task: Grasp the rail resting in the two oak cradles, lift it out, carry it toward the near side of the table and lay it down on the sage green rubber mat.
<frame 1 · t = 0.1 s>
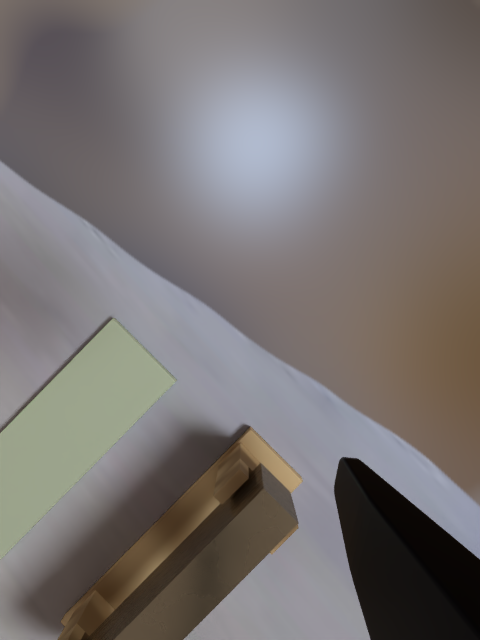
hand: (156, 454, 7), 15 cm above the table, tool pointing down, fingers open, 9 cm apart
rack: (182, 545, 22), on the table
mat: (58, 438, 22), on the table
rail: (172, 580, 19), point 3 cm above the table, touching rack
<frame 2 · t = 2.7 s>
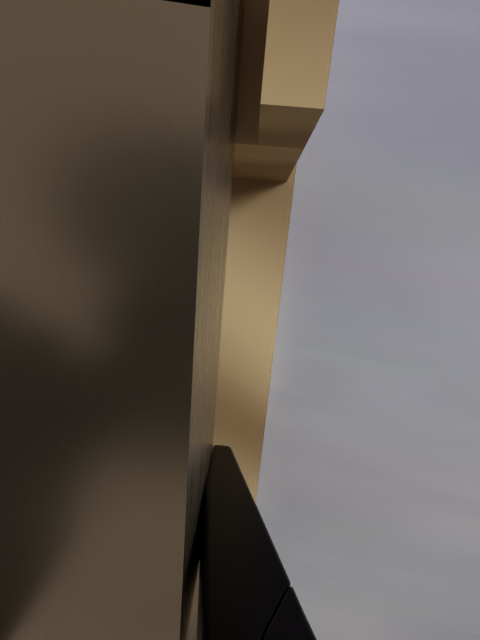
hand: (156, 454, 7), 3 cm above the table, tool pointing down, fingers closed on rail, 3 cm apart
rack: (181, 399, 9), on the table
rail: (151, 465, 7), point 3 cm above the table, touching gripper, rack
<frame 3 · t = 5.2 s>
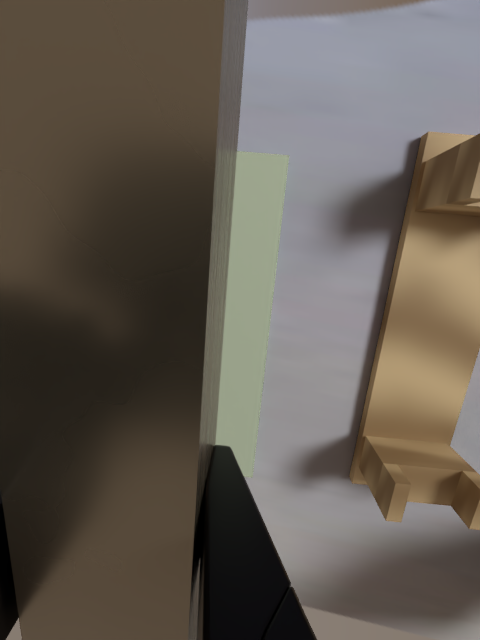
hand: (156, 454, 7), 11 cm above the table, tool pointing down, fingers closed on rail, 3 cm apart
rack: (426, 335, 17), on the table
mat: (211, 332, 17), on the table
rail: (161, 441, 7), point 10 cm above the table, touching gripper
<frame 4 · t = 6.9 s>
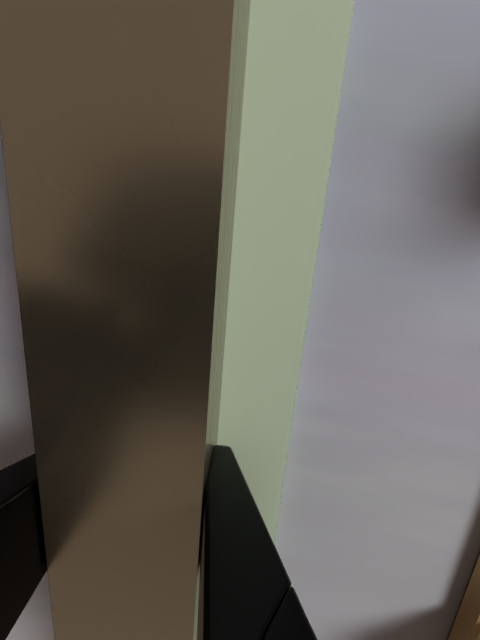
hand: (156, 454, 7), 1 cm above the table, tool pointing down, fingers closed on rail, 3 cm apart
mat: (169, 419, 8), on the table
rail: (168, 425, 8), resting on mat, touching gripper
when the fingers open (1 cm above the table, at t = 7.5 s): rail stays where it is, resting on mat.
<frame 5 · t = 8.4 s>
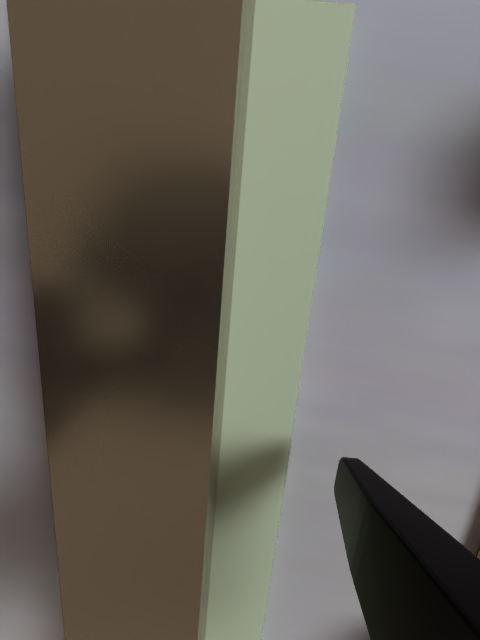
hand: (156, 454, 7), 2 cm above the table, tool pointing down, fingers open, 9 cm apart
mat: (173, 417, 8), on the table
rail: (173, 423, 8), resting on mat
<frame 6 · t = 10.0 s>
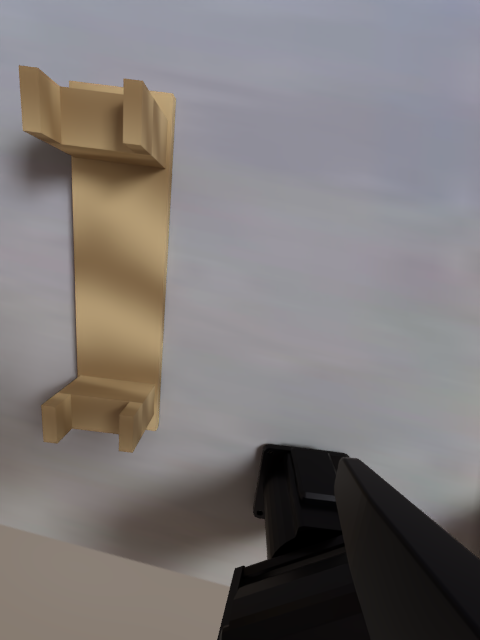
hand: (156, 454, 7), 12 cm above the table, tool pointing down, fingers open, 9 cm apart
rack: (123, 280, 18), on the table
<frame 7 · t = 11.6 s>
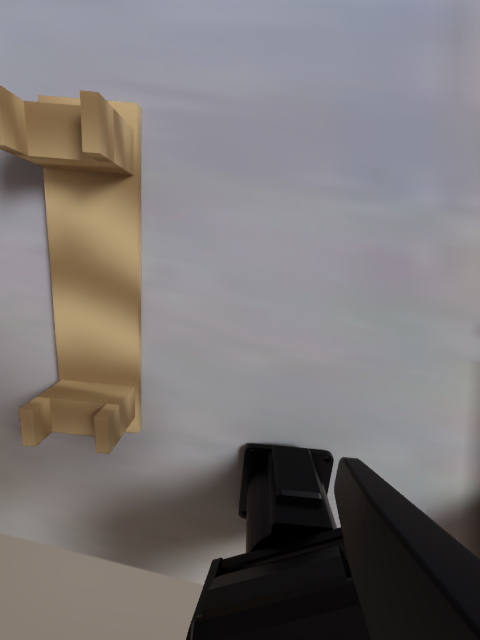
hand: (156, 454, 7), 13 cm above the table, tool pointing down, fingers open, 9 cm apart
rack: (99, 285, 19), on the table
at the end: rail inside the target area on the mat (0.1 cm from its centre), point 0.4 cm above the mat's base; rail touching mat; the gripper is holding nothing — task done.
